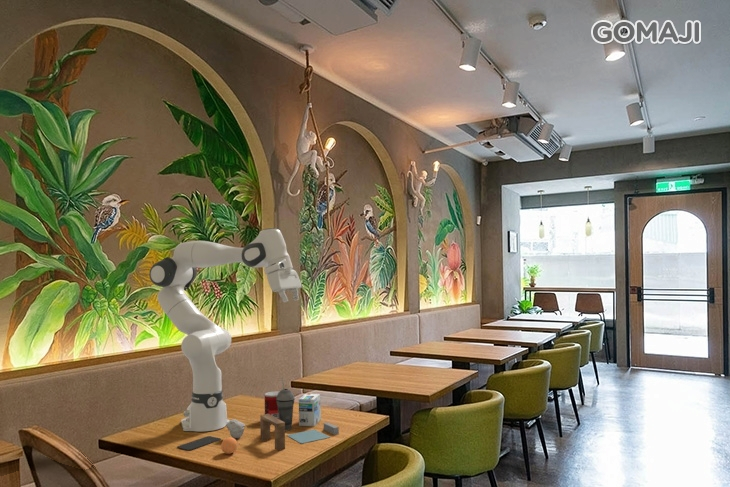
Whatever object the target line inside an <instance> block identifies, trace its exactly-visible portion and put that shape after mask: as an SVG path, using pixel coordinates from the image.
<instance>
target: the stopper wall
mask: <svg viewBox="0 0 730 487" xmlns="http://www.w3.org/2000/svg"><path fill="white" fill-rule="evenodd" d="M339 430H340V429H339V426H337V425H335V424H332V423H330V422H324V423H323V431H325V432H327V433H329V434H332V435H334V436H335V435H339V432H340V431H339Z"/></svg>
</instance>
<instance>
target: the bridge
mask: <svg viewBox="0 0 730 487" xmlns="http://www.w3.org/2000/svg"><path fill="white" fill-rule="evenodd" d="M259 421H260V425H259V426H260V428H259V429H260V430H259V431H260V441H262V442H267V441H270V440H271V425H272V426H273V427H274V450H275V451H282V450H285V449H286V431H285V422H283V421H281V420H279V419H277V418H275V417H273V416H271V415H270V414H265V413H264V414H260V420H259Z"/></svg>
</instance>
